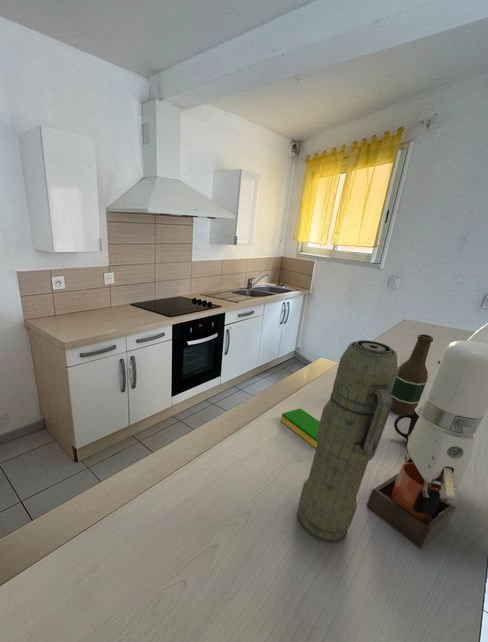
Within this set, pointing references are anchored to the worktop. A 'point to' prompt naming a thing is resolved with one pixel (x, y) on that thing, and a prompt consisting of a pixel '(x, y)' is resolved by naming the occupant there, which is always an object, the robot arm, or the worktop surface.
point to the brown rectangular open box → (408, 514)
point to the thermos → (347, 438)
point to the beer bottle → (411, 378)
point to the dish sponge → (302, 425)
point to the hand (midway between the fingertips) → (414, 495)
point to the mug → (414, 418)
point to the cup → (410, 489)
